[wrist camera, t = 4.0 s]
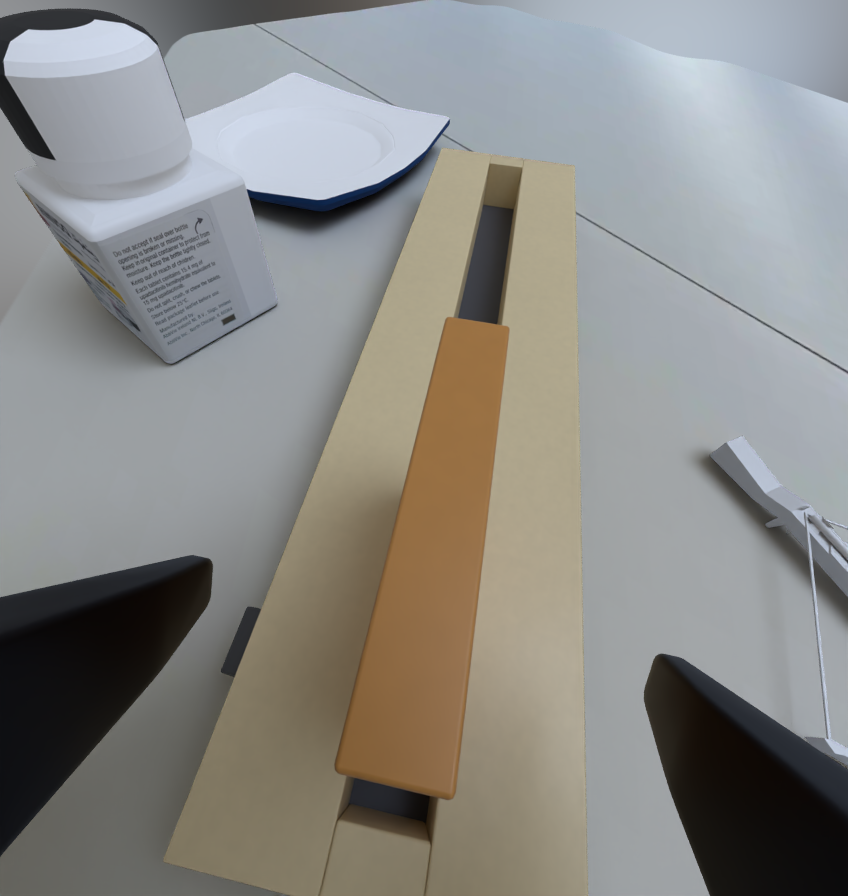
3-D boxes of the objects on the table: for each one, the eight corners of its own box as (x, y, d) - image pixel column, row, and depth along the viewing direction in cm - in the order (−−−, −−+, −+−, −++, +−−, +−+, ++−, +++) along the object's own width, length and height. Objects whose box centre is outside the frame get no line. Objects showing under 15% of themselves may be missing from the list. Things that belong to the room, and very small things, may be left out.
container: (102, 306, 27) (-103, 13, 16) (211, 255, 30) (104, -14, 19) (170, 368, 24) (-19, 68, 13) (281, 305, 27) (204, 26, 17)
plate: (329, 248, 31) (324, 211, 29) (138, 169, 36) (121, 132, 34) (462, 150, 41) (465, 117, 39) (297, 99, 46) (292, 67, 44)
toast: (419, 757, 14) (455, 803, 5) (377, 747, 14) (331, 772, 5) (456, 530, 18) (510, 325, 9) (423, 524, 18) (446, 314, 9)
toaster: (540, 912, 13) (590, 976, 9) (196, 824, 13) (128, 854, 10) (558, 219, 35) (575, 165, 32) (428, 200, 36) (431, 145, 32)
